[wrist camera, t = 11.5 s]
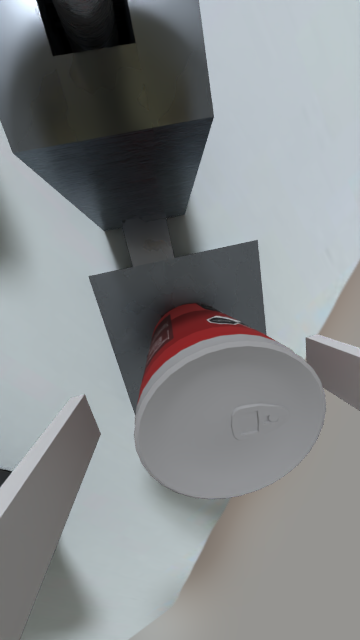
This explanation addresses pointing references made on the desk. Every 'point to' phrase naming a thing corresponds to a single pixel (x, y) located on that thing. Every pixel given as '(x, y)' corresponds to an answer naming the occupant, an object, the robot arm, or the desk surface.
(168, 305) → the grey stepped stand
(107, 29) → the door knob
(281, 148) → the desk surface
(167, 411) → the canned food
